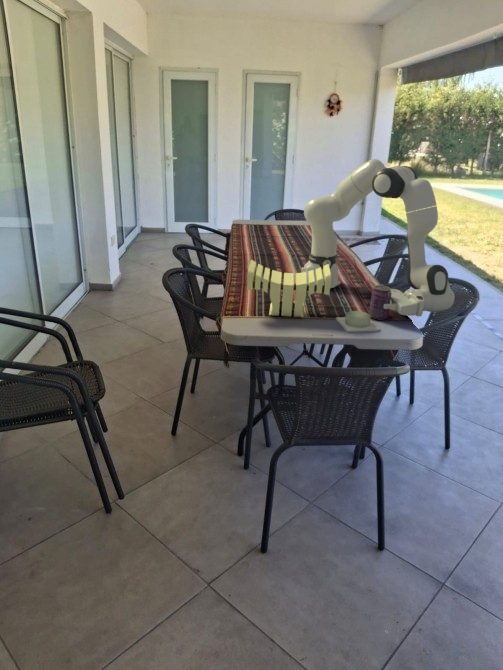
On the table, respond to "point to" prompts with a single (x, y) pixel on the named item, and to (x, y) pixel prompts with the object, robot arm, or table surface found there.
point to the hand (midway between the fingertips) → (378, 301)
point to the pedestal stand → (357, 322)
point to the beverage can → (380, 302)
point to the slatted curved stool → (288, 287)
